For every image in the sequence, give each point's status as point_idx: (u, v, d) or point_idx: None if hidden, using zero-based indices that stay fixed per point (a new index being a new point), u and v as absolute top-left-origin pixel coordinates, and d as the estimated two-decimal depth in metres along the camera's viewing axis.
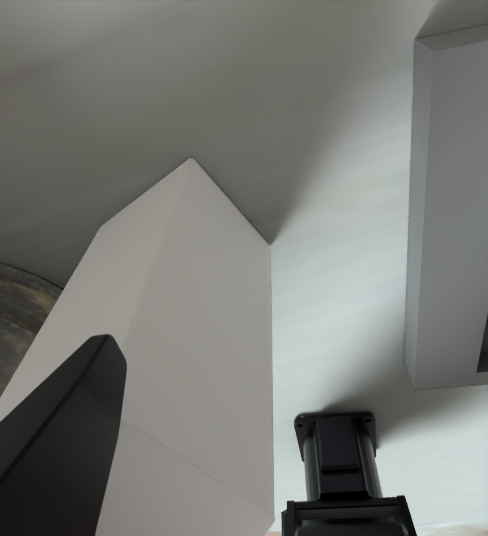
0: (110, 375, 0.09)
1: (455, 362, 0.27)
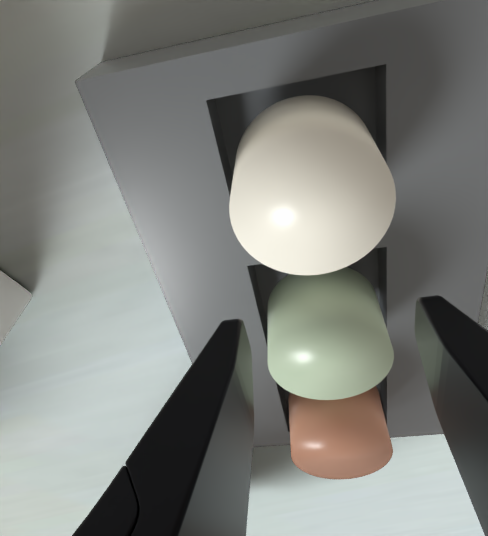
0: (246, 361, 0.08)
1: (261, 421, 0.23)
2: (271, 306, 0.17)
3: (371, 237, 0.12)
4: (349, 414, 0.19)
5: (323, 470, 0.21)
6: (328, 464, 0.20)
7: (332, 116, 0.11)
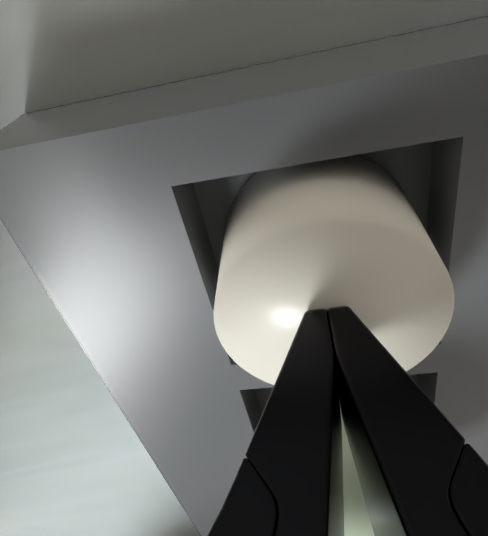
0: None
1: None
2: None
3: (414, 352, 0.09)
4: None
5: None
6: None
7: (362, 190, 0.08)
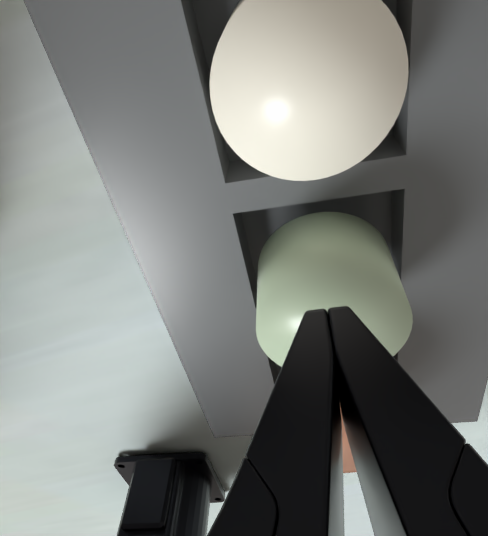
0: None
1: (251, 406, 0.20)
2: (262, 263, 0.14)
3: (377, 128, 0.10)
4: None
5: None
6: None
7: None
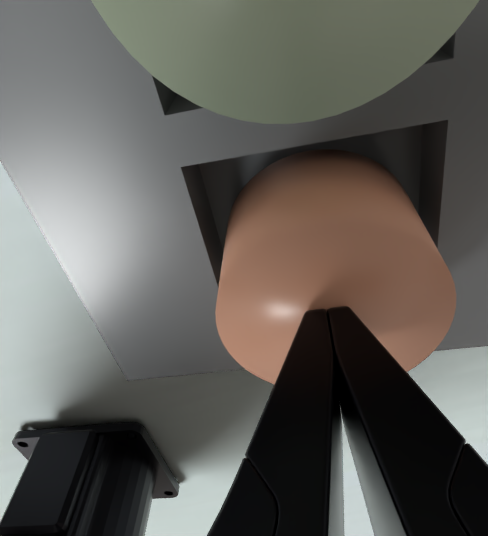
0: None
1: (177, 315, 0.12)
2: None
3: None
4: (351, 203, 0.07)
5: None
6: None
7: None
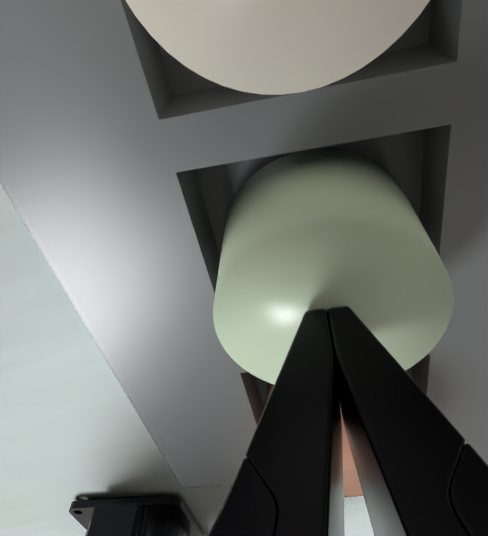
0: None
1: (227, 450, 0.15)
2: (226, 226, 0.10)
3: None
4: None
5: None
6: None
7: None
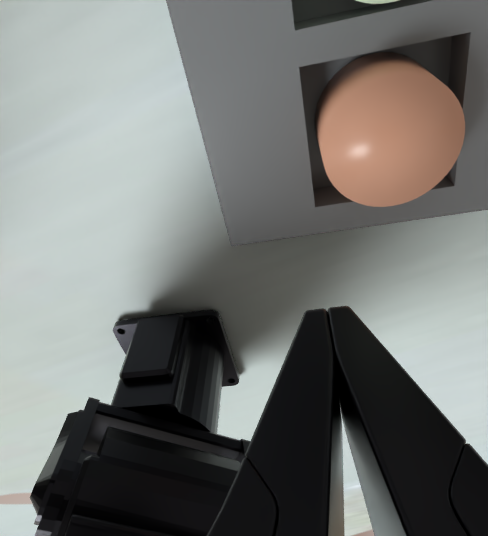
0: None
1: (278, 186, 0.17)
2: None
3: None
4: (406, 68, 0.13)
5: (364, 187, 0.15)
6: (372, 171, 0.15)
7: None
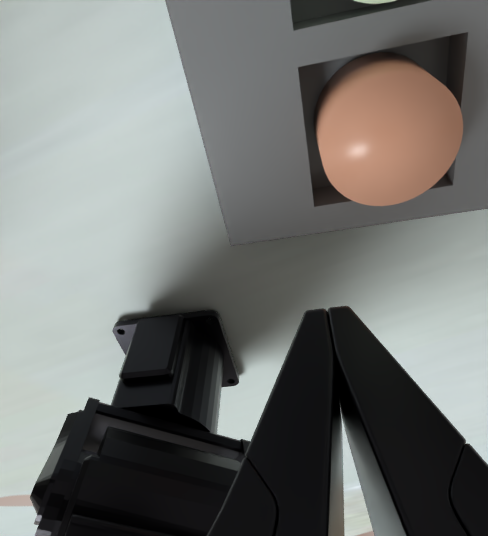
0: None
1: (277, 185, 0.17)
2: None
3: None
4: (404, 68, 0.13)
5: (363, 187, 0.15)
6: (371, 171, 0.15)
7: None
